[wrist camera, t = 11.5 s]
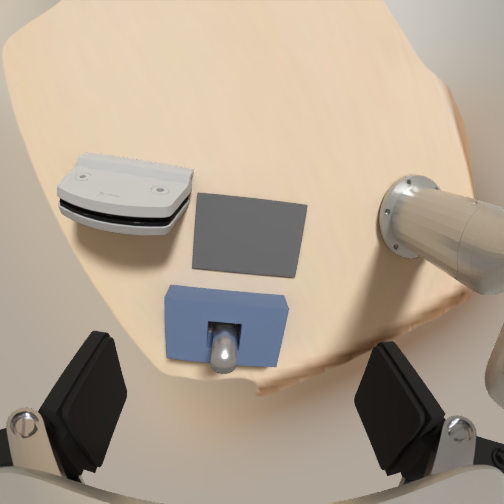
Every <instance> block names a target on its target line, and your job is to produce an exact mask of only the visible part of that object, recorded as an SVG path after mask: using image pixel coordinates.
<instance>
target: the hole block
mask: <svg viewBox="0 0 504 504" xmlns="http://www.w3.org/2000/svg"><path fill="white" fill-rule="evenodd" d="M288 311H289V308H288V305H287V302H286V300H285V297H284V295H273V294H261V293H249V292H237V291H226V290H216V289H206V288H196V287H187V286H178V285H170V287H169V289H168V291H167V294H166V296H165V337H166V357H167V358H171V359H179V360H187V361H196V362H205V363H211V352H212V343H213V332H208V331H209V321H213V322H224V323H236V324H240V325H239V333H238V335H236V365H242V366H260V367H276V366H277V362H278V357H279V353H280V348H281V344H282V339H283V335H284V330H285V325H286V320H287V316H288Z"/></svg>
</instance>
